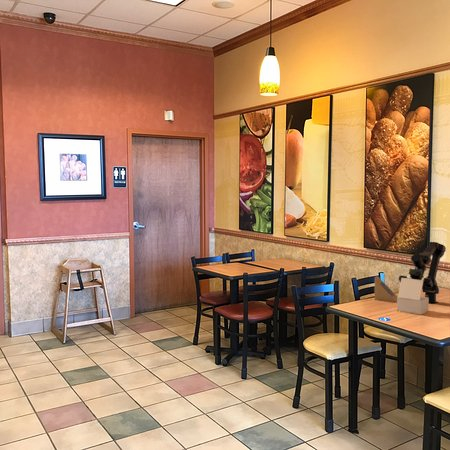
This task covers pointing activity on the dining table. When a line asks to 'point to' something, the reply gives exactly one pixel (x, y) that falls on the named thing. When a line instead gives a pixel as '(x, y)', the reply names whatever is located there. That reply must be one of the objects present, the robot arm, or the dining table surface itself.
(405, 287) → the carton flap
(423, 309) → the carton
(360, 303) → the dining table surface
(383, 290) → the sandwich container
